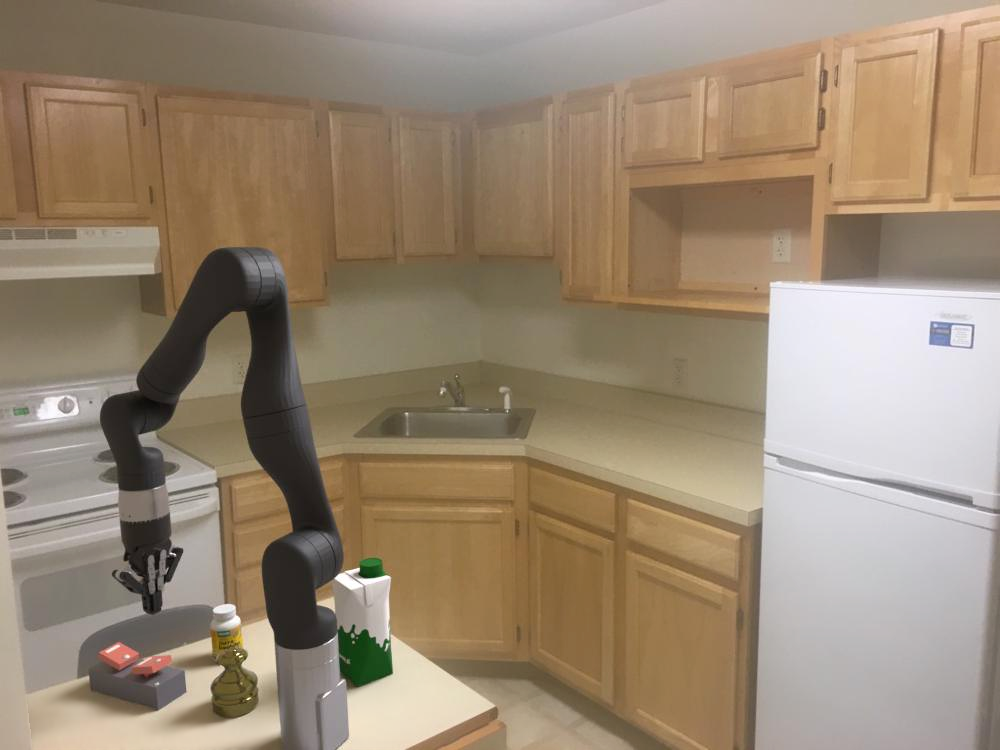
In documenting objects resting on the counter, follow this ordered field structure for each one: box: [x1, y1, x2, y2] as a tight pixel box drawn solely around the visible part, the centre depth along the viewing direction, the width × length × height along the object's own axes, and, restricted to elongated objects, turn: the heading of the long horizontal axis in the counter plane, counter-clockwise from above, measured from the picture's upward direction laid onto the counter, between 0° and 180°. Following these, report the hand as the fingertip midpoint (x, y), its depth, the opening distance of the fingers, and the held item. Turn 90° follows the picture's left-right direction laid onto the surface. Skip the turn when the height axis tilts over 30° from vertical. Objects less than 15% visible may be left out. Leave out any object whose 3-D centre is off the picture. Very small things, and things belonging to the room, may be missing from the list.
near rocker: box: [131, 654, 173, 677], centre depth 133 cm, size 5×4×2 cm
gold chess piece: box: [210, 647, 260, 718], centre depth 130 cm, size 7×7×10 cm
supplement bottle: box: [209, 603, 244, 663], centre depth 146 cm, size 5×5×10 cm
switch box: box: [87, 657, 188, 711], centre depth 135 cm, size 16×6×4 cm, turn 65°
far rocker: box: [98, 641, 140, 670], centre depth 136 cm, size 5×4×2 cm
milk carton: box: [331, 557, 394, 688], centre depth 138 cm, size 9×9×20 cm
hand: (153, 612), depth 131 cm, fingers closed
